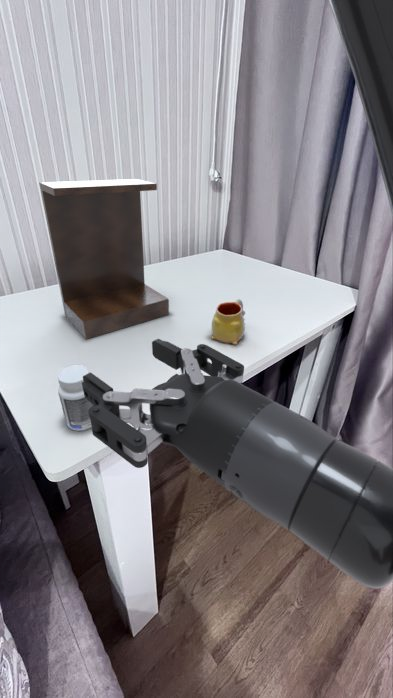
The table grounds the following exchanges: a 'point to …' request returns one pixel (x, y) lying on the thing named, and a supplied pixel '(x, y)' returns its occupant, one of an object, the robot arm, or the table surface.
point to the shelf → (100, 253)
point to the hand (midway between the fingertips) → (123, 363)
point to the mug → (228, 322)
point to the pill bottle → (74, 397)
